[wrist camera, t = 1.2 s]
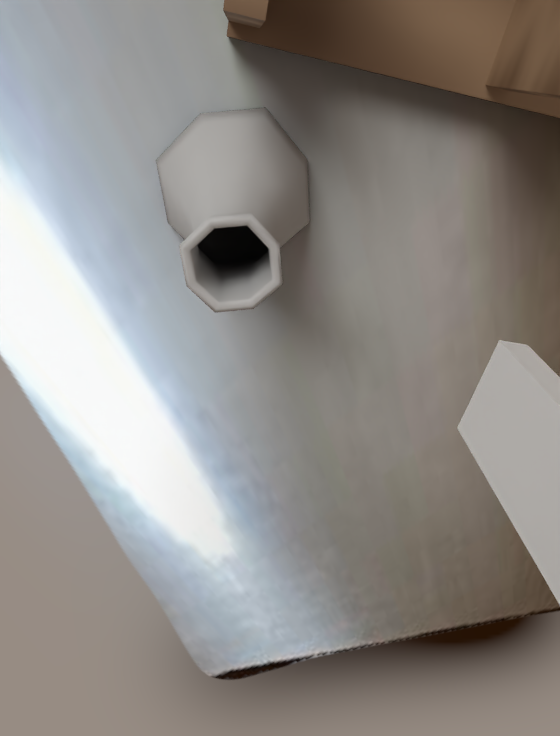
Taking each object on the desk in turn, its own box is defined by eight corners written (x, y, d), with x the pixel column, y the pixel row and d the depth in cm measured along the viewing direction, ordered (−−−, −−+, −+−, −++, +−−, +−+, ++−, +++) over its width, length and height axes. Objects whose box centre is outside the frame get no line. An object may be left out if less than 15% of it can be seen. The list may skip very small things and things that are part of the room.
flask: (276, 75, 22) (297, 93, 13) (332, 229, 25) (376, 318, 17) (128, 147, 23) (62, 205, 14) (203, 284, 27) (184, 394, 18)
